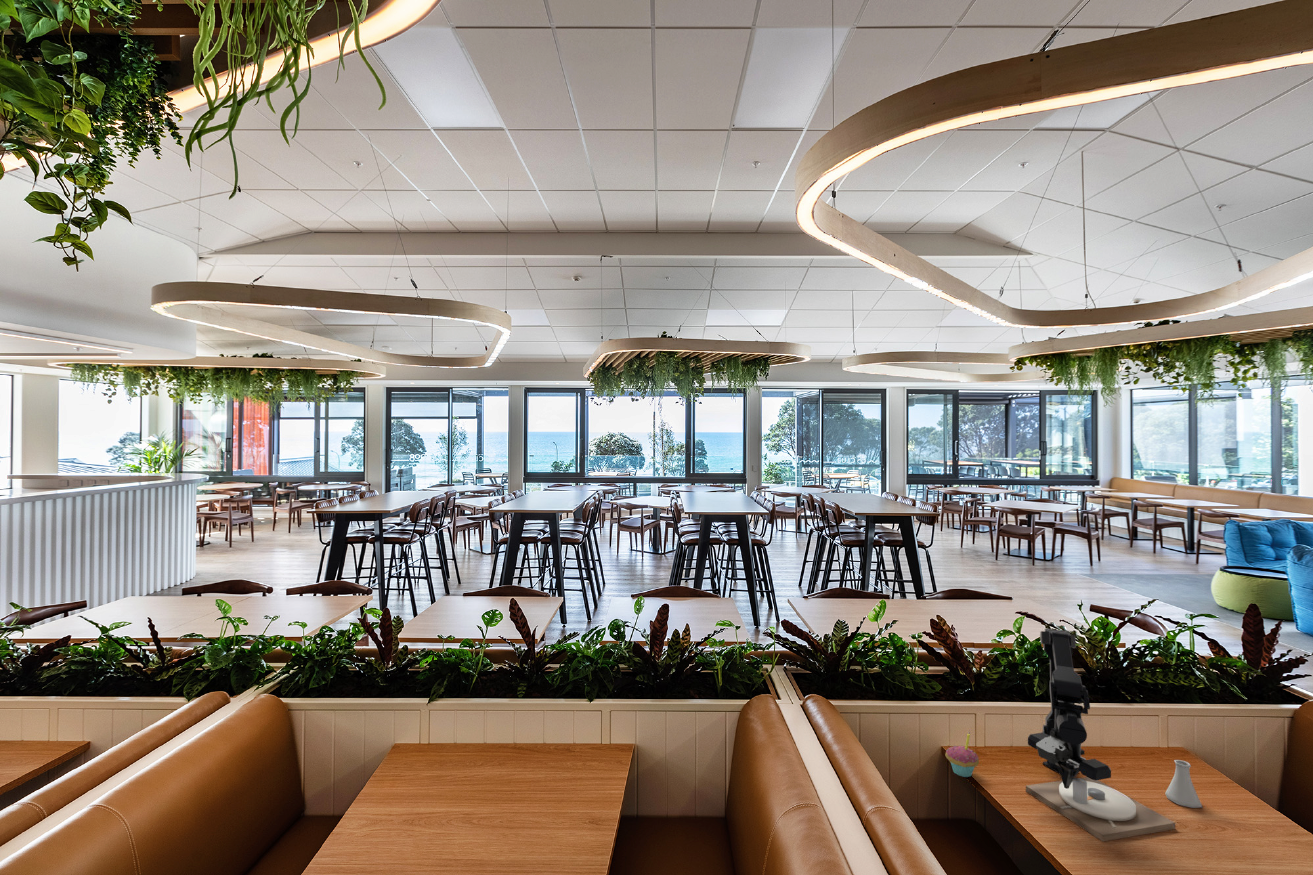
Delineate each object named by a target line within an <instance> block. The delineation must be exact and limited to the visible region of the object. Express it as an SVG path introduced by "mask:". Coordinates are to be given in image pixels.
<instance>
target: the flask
mask: <svg viewBox="0 0 1313 875" xmlns="http://www.w3.org/2000/svg"><path fill="white" fill-rule="evenodd" d="M1173 761H1174V763H1175V770H1174V775H1173V777H1172V779H1171V782H1170V784H1169V785H1168V787H1167V789H1166V791H1165V792H1164V793H1165V796H1166V798H1167V800H1169V801H1171V802H1172V803H1175V804H1176V805H1178V806H1181V807H1187V808H1192V809H1194V808H1195V809H1196V808H1203V804H1202V802H1201V800H1200V798H1199V796H1198V793H1197V792H1196V788H1195V787H1194V783H1193V782H1192V777H1191V775H1190V774H1191V773H1190V768H1191V766H1192V765H1191V763H1189V762H1188V761H1185V760H1181V759H1174V760H1173Z"/></svg>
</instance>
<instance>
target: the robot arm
mask: <svg viewBox="0 0 1313 875" xmlns="http://www.w3.org/2000/svg"><path fill="white" fill-rule="evenodd" d="M1039 633H1040V634H1039V636H1040V638H1039V639H1040V644H1041V645H1042V648H1043V650H1044V652H1045V654H1046V655H1047V657H1048V658H1049V678H1050V680H1049V696H1050V707H1051V708H1050V709H1051V710H1050V711H1049V713H1048V714H1047V715H1046V717H1045V724H1042V732H1037V733H1031V734H1029V735H1028V737H1027V746H1030V747H1031V748H1033V749H1035V750H1037V755H1038V756H1039V757H1040V758H1042V759H1044V761H1042V765H1044V766H1045V767H1048V768H1049V769H1051V770H1053V771H1054V772H1056V773H1058V774H1059V776H1060V778H1061V781H1062V782H1063V784H1064V788H1066V789H1068V788H1069V786H1070V784H1071V783H1072V781H1073V778H1077V776H1078V774H1079V773H1081V775H1083V776H1085V777H1088V778H1090V779H1092V780H1099V781H1101V780H1105V779H1110V778H1112V769H1111V767H1109V765H1108V764H1105V763H1104V762H1101V760H1099V759H1097V758H1090V759H1087V758H1085V757H1083V756H1085V749H1082V744H1083V743H1084V742H1086V740H1087V738H1088V733H1087V729H1086V726H1085V724H1084V722H1083V719H1082V715H1088V714H1089V710H1090V709H1091V705H1090V698H1089V697H1090V696H1089V691H1088V690H1087V687H1086V686H1085V685H1083V681H1082V678H1081V677H1082V676H1080V675H1079V673H1077V672H1076V671H1075V669H1074V662H1073V657H1072V656H1073V649H1076V648H1077V641H1076V635H1075V634H1072V633H1070V631H1069V630H1063V629H1051V628H1044V630H1042V631H1039ZM1082 704H1083V705H1082ZM1045 760H1046V761H1045Z"/></svg>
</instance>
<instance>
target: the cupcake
mask: <svg viewBox="0 0 1313 875" xmlns="http://www.w3.org/2000/svg"><path fill="white" fill-rule="evenodd" d="M970 733H971V731H968V733H967V735H966V741H965V745H953V746H952V745H951V746H950V747H948V748H947V749H946V751H945V757H946V759H947V760H948V761H949V762H950V765H951V768H952V771H953V773H954V774H956V775H957V776H960V777H964V778H968V777H972V775H973V772H974V770H975V767H977V766H979V764H980V763H979V762H980V761H979V760H980V758H979V755H978V754H977V753H976V752H975V751H974V750H972V749H971V748H969V745H970V744H969V743H970V737H971V734H970Z"/></svg>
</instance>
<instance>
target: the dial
mask: <svg viewBox="0 0 1313 875" xmlns="http://www.w3.org/2000/svg"><path fill="white" fill-rule="evenodd" d="M1080 778H1081V777H1075V778H1073V781H1072V783H1071V784H1070V786H1069V788H1068V789H1066V788H1064V784H1063V782H1062V783H1061V784H1060V785H1059V795H1060V797H1061V798H1062V799H1063V800H1064V801H1065V802H1066V803H1067V804H1068V805H1070V806H1071V807H1073V808H1075V809H1077V810H1079V811H1081V812H1083V813H1086V814H1088V815H1091V816H1094V817H1098V818H1102V819H1106V820H1113V821H1127V820H1131V819H1133V818H1135V816H1136V805H1135V804H1134V802H1133V801H1132V800H1131V799H1132V798H1131V797H1130V796H1128V797H1127V795H1126V794H1124V793H1122V792H1121V791H1118V790H1117V789H1115V788H1113V787H1112V788H1113V789H1112V788H1110V787H1111V786H1110V787H1107V786H1104V785H1101V784H1098V783H1094V782H1089V781H1085V780H1083V779H1080ZM1129 797H1130V798H1131V799H1130V798H1129Z"/></svg>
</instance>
